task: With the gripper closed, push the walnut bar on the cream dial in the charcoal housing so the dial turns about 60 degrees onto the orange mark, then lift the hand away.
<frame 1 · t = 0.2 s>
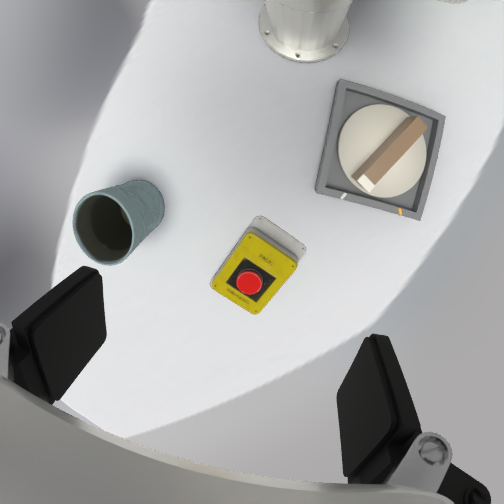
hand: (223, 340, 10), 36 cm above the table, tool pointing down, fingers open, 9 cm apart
teal cup: (141, 207, 47), on the table
emergency button: (256, 265, 49), on the table
dial housing: (379, 150, 39), on the table
dial: (388, 151, 35), point 4 cm above the table, hinge at 0.0°
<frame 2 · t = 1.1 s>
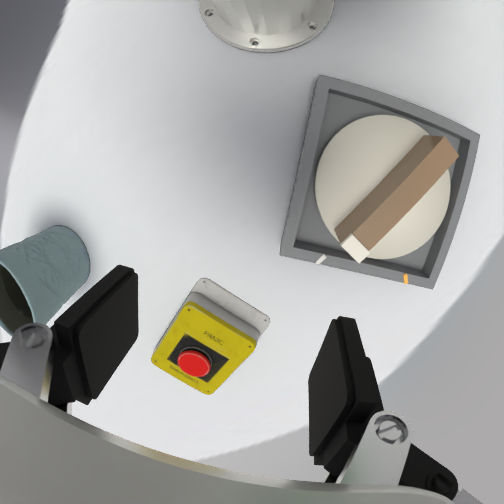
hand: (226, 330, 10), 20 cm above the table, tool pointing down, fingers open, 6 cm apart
teal cup: (66, 257, 34), on the table
emergency button: (207, 336, 36), on the table
dial housing: (380, 184, 26), on the table
dial: (393, 192, 23), point 4 cm above the table, hinge at 0.0°
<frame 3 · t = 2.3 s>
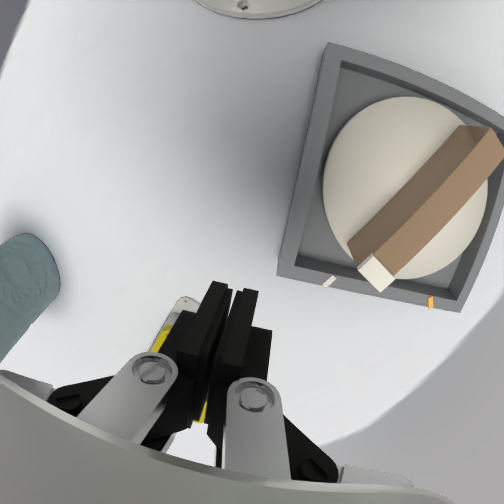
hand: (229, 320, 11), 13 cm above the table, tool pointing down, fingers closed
teal cup: (35, 269, 28), on the table
emergency button: (194, 360, 30), on the table
dial housing: (403, 185, 20), on the table
dial: (424, 197, 17), point 4 cm above the table, hinge at 0.0°
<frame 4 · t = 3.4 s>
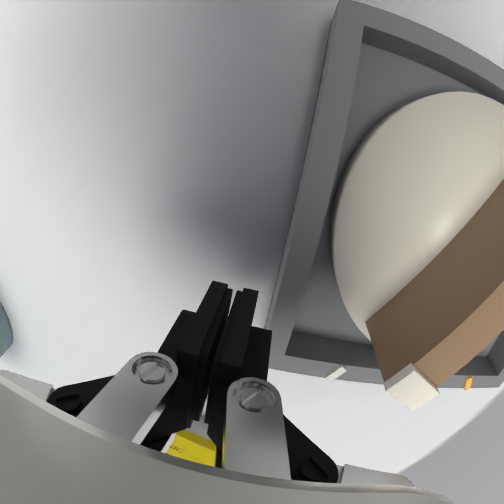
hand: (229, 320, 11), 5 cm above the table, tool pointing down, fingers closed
emergency button: (167, 427, 23), on the table
dial housing: (447, 226, 13), on the table
dial: (489, 256, 9), point 4 cm above the table, hinge at 0.0°
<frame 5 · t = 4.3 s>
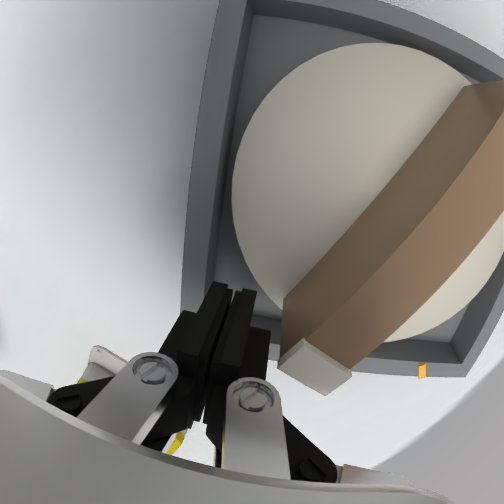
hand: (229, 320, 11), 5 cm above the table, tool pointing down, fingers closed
emergency button: (131, 411, 23), on the table
dial housing: (380, 194, 13), on the table
dial: (412, 217, 9), point 4 cm above the table, hinge at 2.2°, touching gripper
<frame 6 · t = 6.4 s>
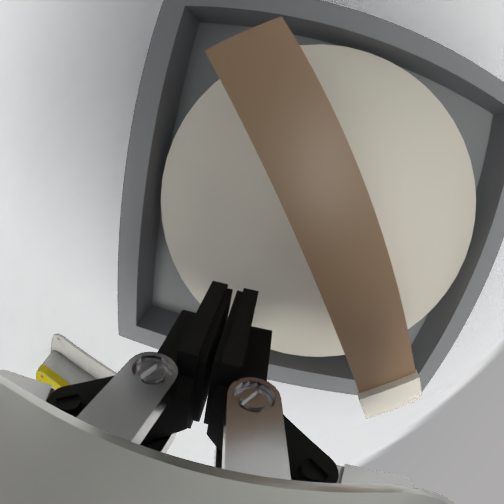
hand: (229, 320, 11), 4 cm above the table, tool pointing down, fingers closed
emergency button: (93, 402, 23), on the table
dial housing: (322, 203, 13), on the table
dial: (334, 227, 10), point 4 cm above the table, hinge at 68.0°
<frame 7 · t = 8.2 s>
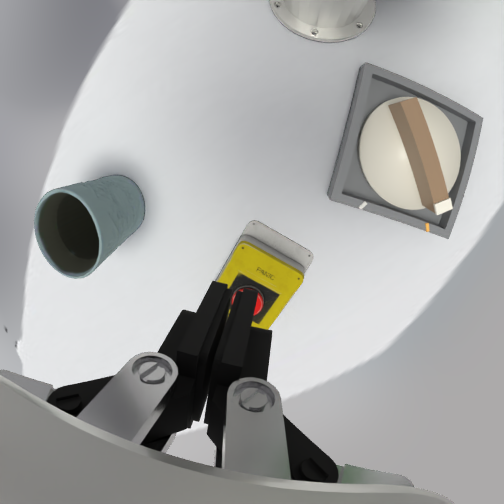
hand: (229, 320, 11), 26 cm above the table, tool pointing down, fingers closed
teal cup: (118, 207, 39), on the table
emergency button: (255, 280, 41), on the table
dial housing: (406, 151, 31), on the table
dial: (419, 154, 28), point 4 cm above the table, hinge at 68.0°
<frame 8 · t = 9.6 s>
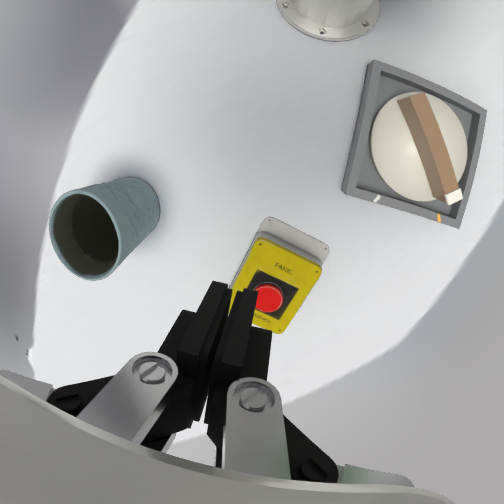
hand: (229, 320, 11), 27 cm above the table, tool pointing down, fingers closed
teal cup: (132, 209, 39), on the table
emergency button: (273, 276, 41), on the table
dial housing: (415, 145, 32), on the table
dial: (428, 147, 28), point 4 cm above the table, hinge at 68.0°
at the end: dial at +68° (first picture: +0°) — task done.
